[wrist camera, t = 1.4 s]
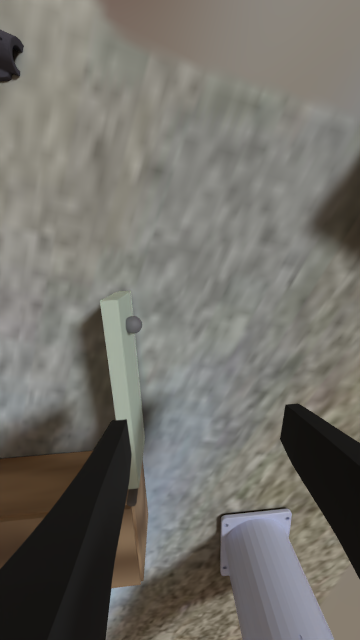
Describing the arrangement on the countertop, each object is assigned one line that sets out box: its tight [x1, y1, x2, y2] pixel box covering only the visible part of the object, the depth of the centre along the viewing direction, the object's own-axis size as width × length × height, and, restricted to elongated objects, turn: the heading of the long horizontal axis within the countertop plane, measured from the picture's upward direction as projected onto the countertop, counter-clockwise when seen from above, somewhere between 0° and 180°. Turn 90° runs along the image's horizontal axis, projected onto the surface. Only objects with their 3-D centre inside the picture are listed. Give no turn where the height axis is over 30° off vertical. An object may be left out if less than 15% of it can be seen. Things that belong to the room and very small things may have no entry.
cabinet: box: [0, 451, 148, 588], centre depth 18 cm, size 10×15×6 cm, turn 92°
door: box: [100, 291, 145, 489], centre depth 16 cm, size 14×2×5 cm, turn 2°
